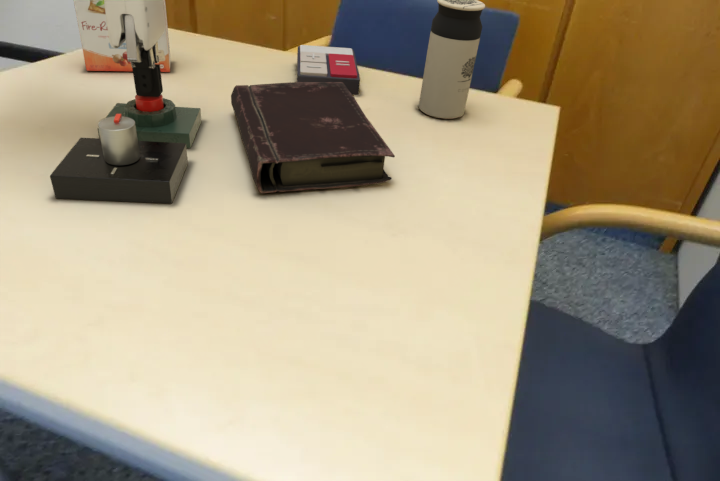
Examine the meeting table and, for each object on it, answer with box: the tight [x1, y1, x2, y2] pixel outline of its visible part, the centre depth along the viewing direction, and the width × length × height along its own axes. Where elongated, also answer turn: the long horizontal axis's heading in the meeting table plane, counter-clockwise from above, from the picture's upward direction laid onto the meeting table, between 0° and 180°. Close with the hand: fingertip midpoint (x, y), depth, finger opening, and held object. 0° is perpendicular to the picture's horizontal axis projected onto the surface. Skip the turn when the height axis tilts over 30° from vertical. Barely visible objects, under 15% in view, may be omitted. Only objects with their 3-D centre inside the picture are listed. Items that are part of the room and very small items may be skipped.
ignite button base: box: [97, 97, 202, 149], centre depth 79 cm, size 12×9×4 cm
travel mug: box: [418, 0, 486, 120], centre depth 91 cm, size 8×8×18 cm
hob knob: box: [97, 114, 140, 166], centre depth 65 cm, size 4×4×5 cm
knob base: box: [49, 137, 189, 205], centre depth 67 cm, size 13×10×3 cm
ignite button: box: [134, 93, 164, 112], centre depth 77 cm, size 4×4×2 cm
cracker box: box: [73, 0, 172, 73], centre depth 94 cm, size 14×6×21 cm, turn 104°
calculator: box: [296, 44, 361, 96], centre depth 103 cm, size 11×4×15 cm
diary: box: [230, 81, 396, 194], centre depth 79 cm, size 19×25×5 cm
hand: (149, 93), depth 76 cm, fingers closed
